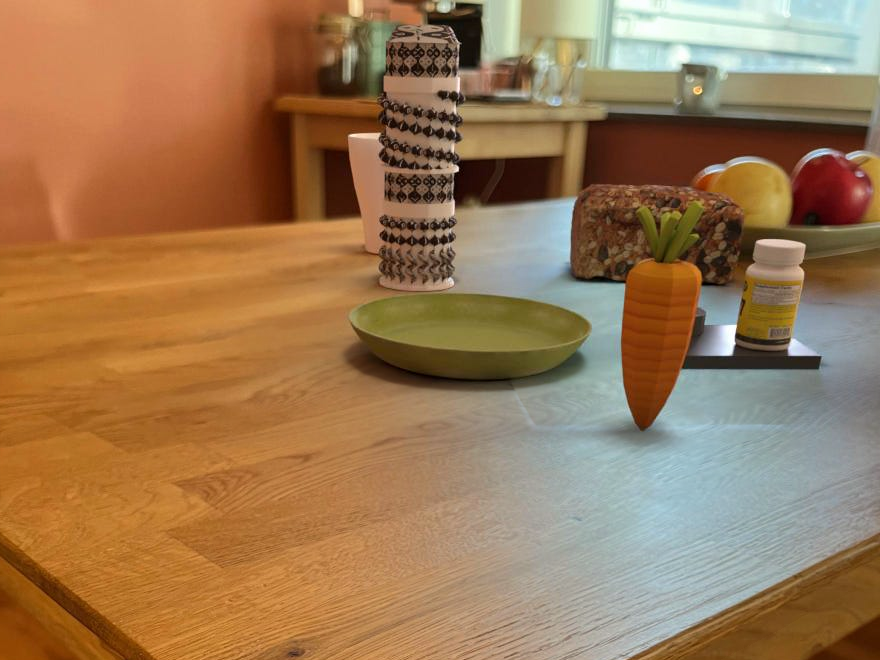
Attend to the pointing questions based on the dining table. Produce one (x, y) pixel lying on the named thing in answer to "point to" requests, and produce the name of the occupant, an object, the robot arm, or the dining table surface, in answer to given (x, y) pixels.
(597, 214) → the bread
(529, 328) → the saucer
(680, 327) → the carrot
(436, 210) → the decorative candle
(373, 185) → the cup
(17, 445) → the dining table surface
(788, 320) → the supplement bottle
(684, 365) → the scale
